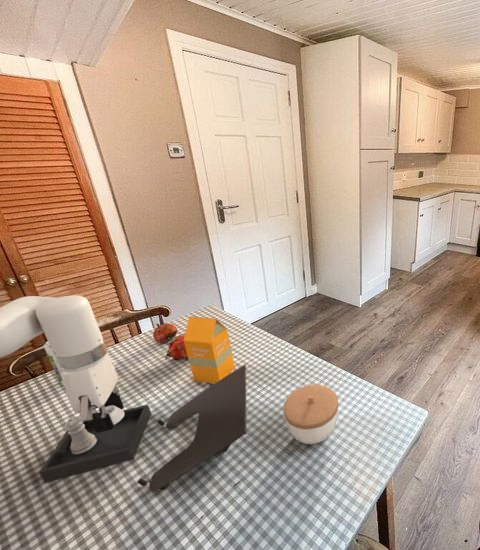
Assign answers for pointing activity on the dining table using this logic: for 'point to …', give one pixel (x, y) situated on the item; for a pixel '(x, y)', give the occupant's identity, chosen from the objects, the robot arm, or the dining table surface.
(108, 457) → the black tray
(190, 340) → the orange juice
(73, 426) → the rook chess piece
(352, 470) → the dining table surface
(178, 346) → the dragon fruit
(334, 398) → the lidded bowl
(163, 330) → the pomegranate
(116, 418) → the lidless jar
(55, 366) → the syrup box
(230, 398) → the laptop stand
